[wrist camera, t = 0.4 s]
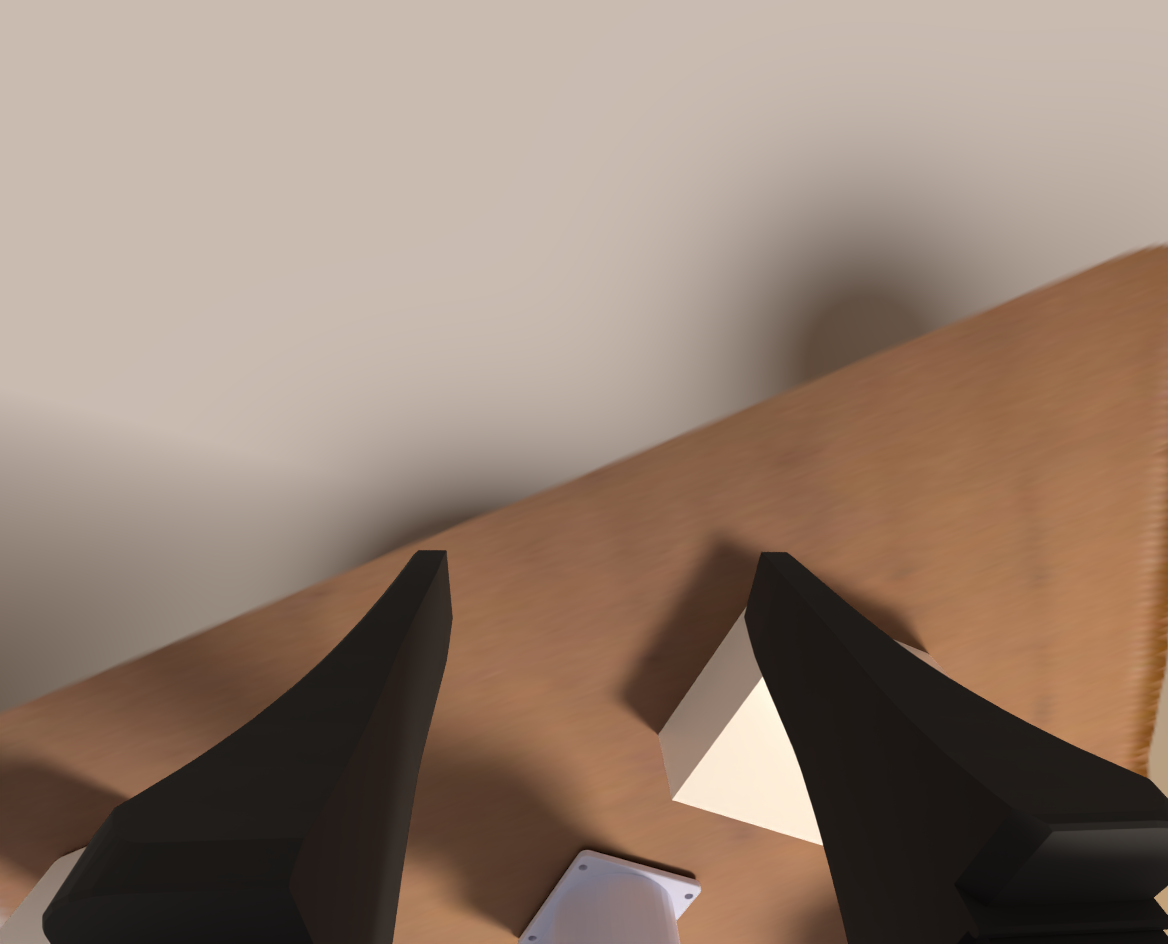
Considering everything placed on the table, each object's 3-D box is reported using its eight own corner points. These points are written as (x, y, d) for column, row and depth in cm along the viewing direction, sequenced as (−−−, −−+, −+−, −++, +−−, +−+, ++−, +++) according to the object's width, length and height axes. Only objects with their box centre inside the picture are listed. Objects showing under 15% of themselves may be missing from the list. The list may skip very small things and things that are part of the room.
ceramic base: (812, 781, 31) (847, 852, 28) (657, 729, 29) (671, 799, 26) (924, 649, 28) (980, 710, 24) (758, 580, 26) (792, 636, 22)
